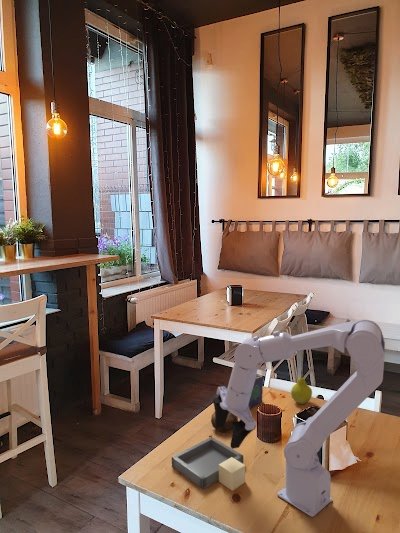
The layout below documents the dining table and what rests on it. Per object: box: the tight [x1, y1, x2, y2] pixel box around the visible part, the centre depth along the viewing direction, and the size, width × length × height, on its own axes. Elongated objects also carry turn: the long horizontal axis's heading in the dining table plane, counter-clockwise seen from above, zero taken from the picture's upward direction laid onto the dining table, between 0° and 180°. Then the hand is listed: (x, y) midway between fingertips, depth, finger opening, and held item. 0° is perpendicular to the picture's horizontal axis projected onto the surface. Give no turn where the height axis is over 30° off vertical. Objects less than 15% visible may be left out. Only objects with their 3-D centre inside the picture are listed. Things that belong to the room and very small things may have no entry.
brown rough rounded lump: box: [210, 411, 239, 433], centre depth 121 cm, size 8×8×6 cm
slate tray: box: [171, 436, 244, 490], centre depth 103 cm, size 12×14×2 cm
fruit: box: [290, 370, 313, 405], centre depth 136 cm, size 7×7×12 cm
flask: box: [248, 373, 264, 410], centre depth 135 cm, size 10×3×12 cm, turn 134°
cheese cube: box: [218, 457, 246, 491], centre depth 97 cm, size 4×4×4 cm
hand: (226, 436), depth 98 cm, fingers open, 7 cm apart
